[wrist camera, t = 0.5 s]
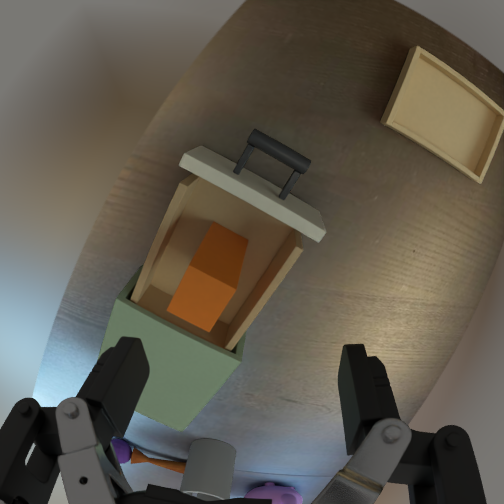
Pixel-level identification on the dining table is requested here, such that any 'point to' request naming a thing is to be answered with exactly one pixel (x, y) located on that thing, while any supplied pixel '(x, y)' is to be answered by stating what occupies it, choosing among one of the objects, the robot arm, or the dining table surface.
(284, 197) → the drawer
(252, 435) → the dining table surface
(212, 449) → the cup
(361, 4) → the dining table surface
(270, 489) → the teapot
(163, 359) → the cabinet
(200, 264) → the block
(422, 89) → the tray
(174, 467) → the kendama
